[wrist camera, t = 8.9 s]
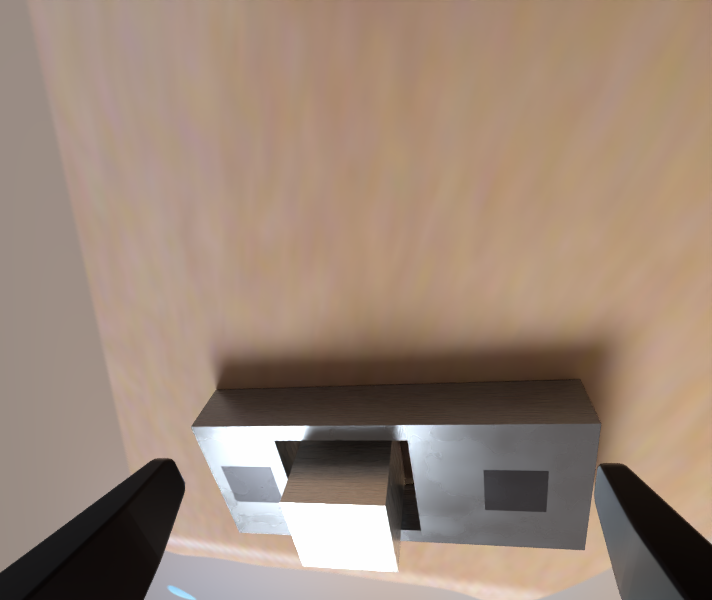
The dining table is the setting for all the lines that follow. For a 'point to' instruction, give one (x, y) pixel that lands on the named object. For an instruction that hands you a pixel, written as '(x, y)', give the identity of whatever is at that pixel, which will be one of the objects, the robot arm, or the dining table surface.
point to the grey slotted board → (422, 454)
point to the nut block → (346, 503)
